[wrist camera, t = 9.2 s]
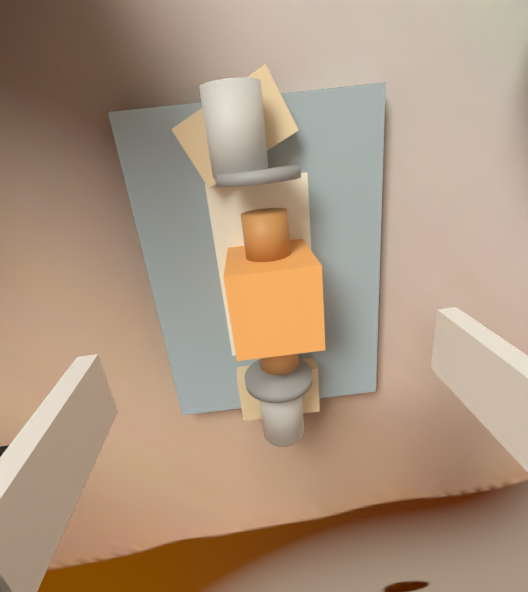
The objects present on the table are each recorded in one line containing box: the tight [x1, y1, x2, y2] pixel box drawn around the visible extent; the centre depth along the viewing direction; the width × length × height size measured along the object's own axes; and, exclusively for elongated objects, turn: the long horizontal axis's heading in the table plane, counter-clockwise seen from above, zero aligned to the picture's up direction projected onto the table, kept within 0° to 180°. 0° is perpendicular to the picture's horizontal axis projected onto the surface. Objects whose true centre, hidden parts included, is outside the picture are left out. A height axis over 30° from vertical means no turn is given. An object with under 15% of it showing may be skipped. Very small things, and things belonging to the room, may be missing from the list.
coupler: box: [223, 208, 325, 375], centre depth 21 cm, size 5×10×6 cm, turn 6°
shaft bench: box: [108, 64, 386, 447], centre depth 22 cm, size 16×23×7 cm
